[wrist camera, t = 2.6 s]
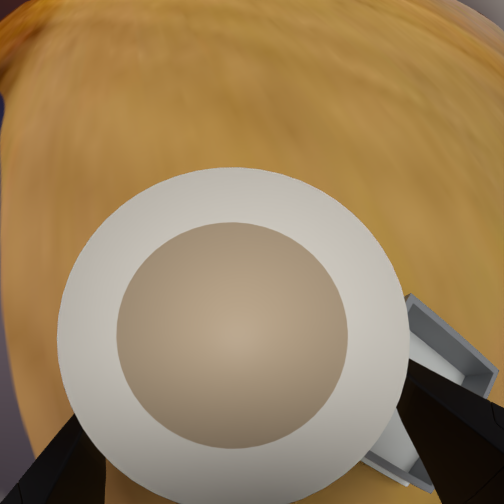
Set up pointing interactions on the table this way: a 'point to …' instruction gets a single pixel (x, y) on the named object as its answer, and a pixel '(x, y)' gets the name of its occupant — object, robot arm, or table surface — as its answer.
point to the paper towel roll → (233, 338)
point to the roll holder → (442, 362)
